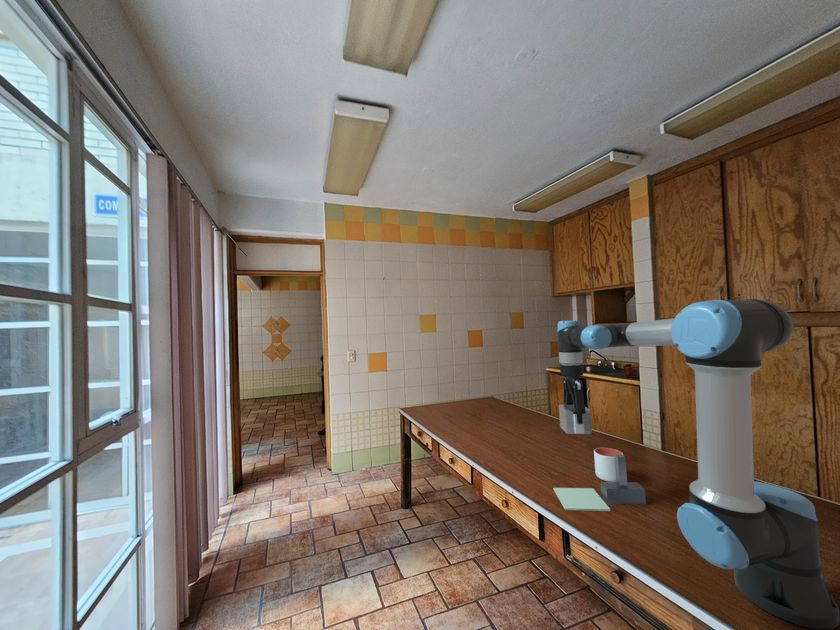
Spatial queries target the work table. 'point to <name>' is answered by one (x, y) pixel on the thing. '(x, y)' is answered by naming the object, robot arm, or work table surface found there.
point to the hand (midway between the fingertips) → (575, 429)
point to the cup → (605, 463)
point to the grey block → (622, 487)
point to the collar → (568, 419)
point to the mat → (580, 499)
